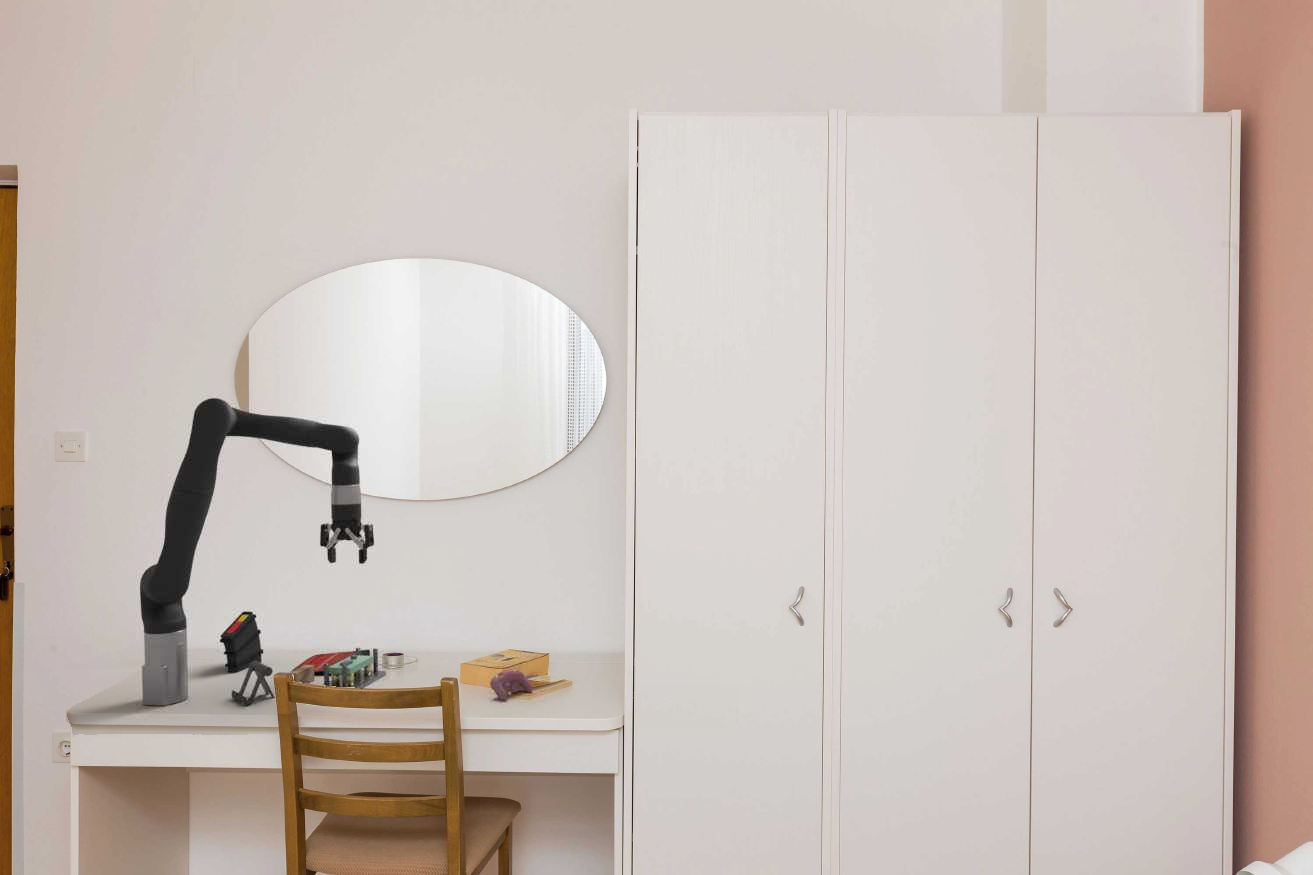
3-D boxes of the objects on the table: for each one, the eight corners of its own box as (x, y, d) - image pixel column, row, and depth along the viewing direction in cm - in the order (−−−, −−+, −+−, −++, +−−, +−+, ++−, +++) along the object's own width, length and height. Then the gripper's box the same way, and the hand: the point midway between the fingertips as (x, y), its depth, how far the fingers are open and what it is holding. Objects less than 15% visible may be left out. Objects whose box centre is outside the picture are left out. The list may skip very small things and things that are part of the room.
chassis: (352, 693, 228) (352, 665, 228) (316, 691, 230) (315, 664, 230) (385, 674, 245) (385, 648, 245) (351, 673, 247) (350, 647, 247)
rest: (296, 689, 233) (296, 673, 233) (288, 688, 233) (287, 673, 233) (314, 680, 241) (314, 664, 241) (306, 679, 241) (305, 664, 241)
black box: (270, 653, 263) (254, 610, 256) (243, 685, 251) (226, 641, 245) (258, 652, 263) (242, 610, 257) (231, 684, 252) (214, 641, 245)
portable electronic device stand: (231, 699, 225) (230, 665, 225) (263, 692, 231) (262, 659, 231) (244, 707, 219) (243, 672, 219) (277, 699, 225) (277, 665, 224)
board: (350, 674, 231) (349, 665, 231) (328, 673, 232) (328, 664, 232) (373, 661, 243) (373, 652, 243) (352, 661, 244) (352, 652, 244)
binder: (370, 648, 266) (347, 668, 245) (370, 656, 266) (347, 677, 245) (314, 651, 266) (286, 672, 245) (314, 659, 266) (287, 681, 245)
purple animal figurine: (524, 695, 230) (515, 668, 232) (535, 690, 228) (526, 663, 229) (493, 705, 223) (484, 677, 224) (504, 700, 220) (495, 671, 222)
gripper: (313, 503, 241) (315, 564, 241) (363, 503, 238) (365, 565, 238) (329, 500, 248) (330, 560, 249) (378, 500, 245) (379, 561, 246)
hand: (347, 562), depth 244 cm, fingers open, 8 cm apart
